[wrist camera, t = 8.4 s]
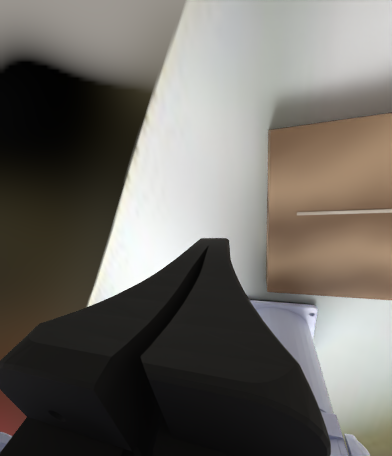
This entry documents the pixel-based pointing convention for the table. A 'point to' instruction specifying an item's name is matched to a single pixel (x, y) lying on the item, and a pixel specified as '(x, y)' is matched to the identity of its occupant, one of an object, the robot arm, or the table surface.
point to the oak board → (331, 208)
